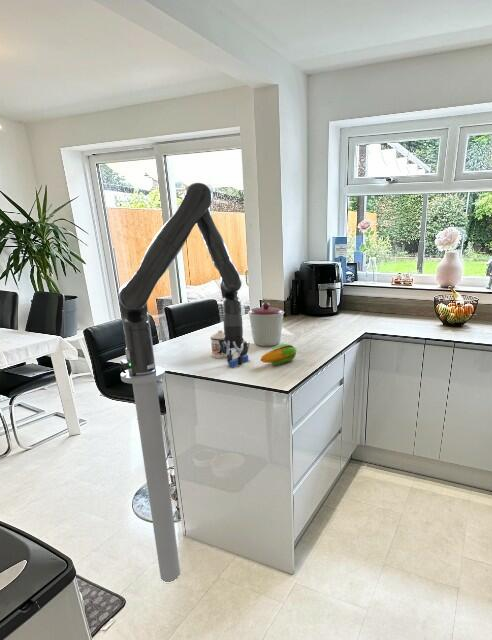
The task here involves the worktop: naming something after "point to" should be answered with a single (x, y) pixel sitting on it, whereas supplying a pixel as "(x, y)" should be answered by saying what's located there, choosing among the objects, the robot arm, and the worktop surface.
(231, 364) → the blue toy block
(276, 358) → the corn
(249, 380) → the worktop surface
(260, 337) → the canister
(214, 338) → the teacup with lid
